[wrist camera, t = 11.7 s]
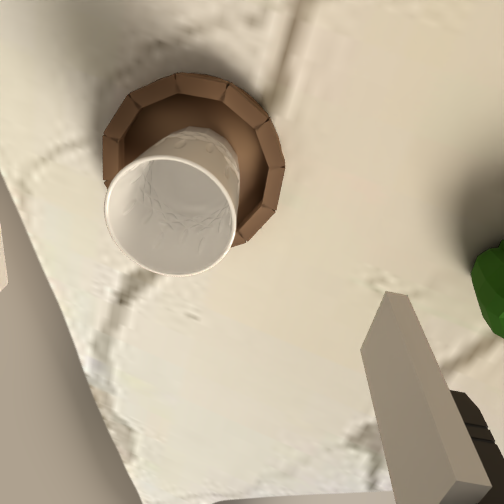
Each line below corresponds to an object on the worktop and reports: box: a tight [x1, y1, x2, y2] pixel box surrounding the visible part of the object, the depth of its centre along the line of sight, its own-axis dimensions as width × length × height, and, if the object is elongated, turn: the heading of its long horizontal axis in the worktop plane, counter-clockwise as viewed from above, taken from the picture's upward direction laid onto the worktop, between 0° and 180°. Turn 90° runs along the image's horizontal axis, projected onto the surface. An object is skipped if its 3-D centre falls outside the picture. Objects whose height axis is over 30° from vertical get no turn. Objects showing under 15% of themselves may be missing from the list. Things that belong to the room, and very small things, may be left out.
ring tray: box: [103, 72, 285, 248], centre depth 33 cm, size 14×14×2 cm
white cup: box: [104, 126, 240, 276], centre depth 29 cm, size 8×8×10 cm
